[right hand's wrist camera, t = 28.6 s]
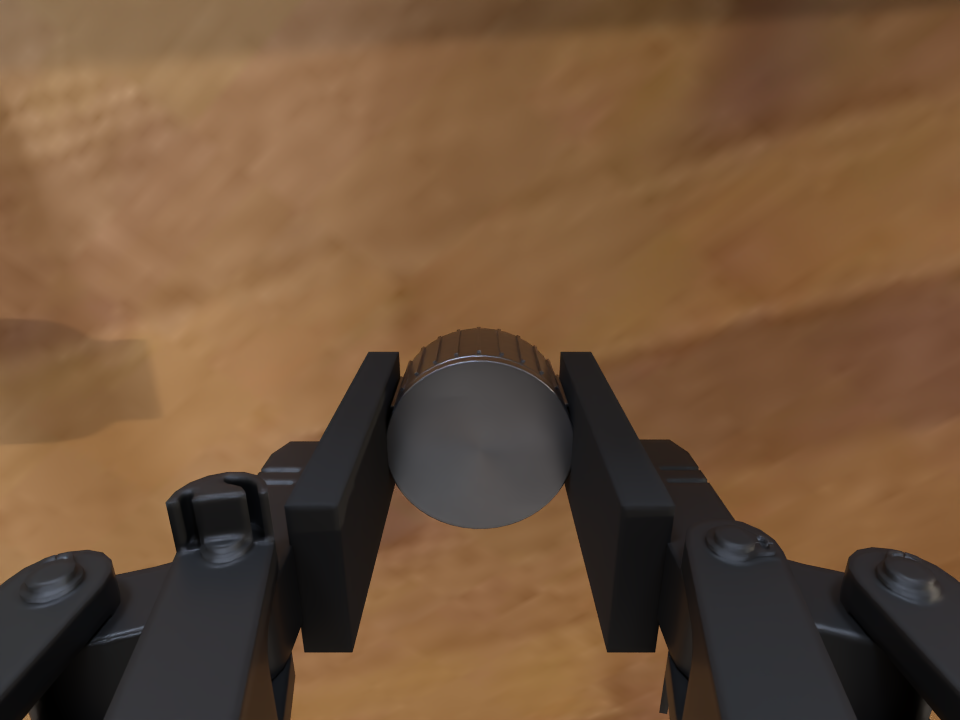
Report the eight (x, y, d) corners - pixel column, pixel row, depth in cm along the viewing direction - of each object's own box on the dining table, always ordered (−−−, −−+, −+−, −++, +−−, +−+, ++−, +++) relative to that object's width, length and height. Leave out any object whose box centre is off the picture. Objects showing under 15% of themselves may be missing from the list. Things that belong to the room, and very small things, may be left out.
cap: (593, 425, 15) (613, 473, 13) (458, 503, 16) (455, 560, 13) (504, 292, 14) (509, 319, 11) (362, 384, 14) (341, 426, 12)
